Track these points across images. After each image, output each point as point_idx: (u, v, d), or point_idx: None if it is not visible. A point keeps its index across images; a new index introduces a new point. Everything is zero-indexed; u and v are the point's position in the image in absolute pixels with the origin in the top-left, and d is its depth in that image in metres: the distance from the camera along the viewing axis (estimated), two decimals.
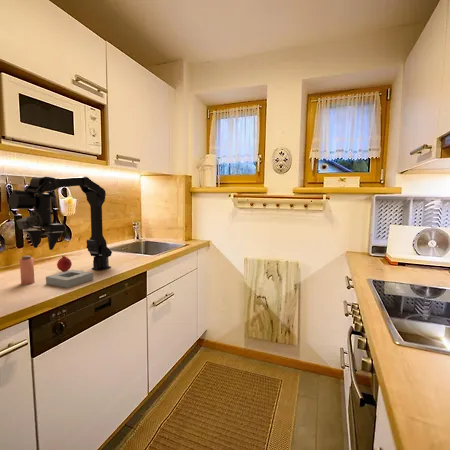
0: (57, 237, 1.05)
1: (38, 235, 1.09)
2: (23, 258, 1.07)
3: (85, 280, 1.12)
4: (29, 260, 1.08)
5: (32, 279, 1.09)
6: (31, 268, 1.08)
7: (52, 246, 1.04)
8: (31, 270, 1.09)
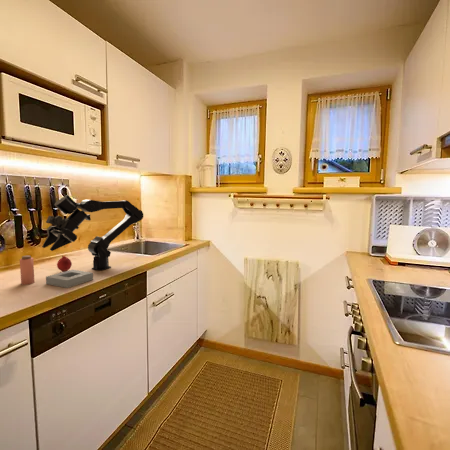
0: (63, 243, 1.13)
1: (53, 240, 1.20)
2: (23, 258, 1.07)
3: (85, 280, 1.12)
4: (29, 260, 1.08)
5: (32, 279, 1.09)
6: (31, 268, 1.08)
7: (54, 248, 1.11)
8: (31, 270, 1.09)
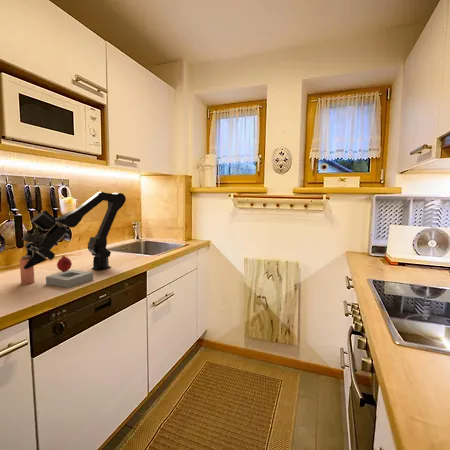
0: (38, 261, 1.09)
1: None
2: (23, 258, 1.07)
3: (85, 280, 1.12)
4: None
5: (32, 279, 1.09)
6: (31, 268, 1.08)
7: (28, 266, 1.07)
8: (31, 270, 1.09)
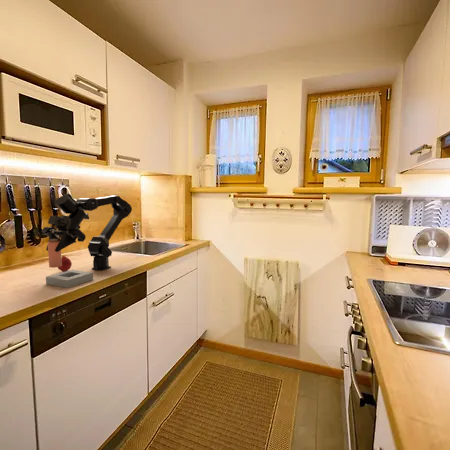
0: (68, 244, 1.10)
1: None
2: (52, 241, 1.07)
3: (85, 280, 1.12)
4: (58, 243, 1.08)
5: (61, 261, 1.10)
6: (60, 251, 1.09)
7: (59, 248, 1.07)
8: (60, 252, 1.09)
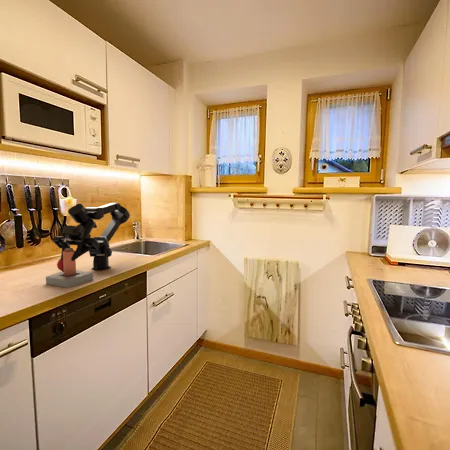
0: (82, 252, 1.13)
1: None
2: (68, 250, 1.09)
3: (85, 280, 1.12)
4: (74, 252, 1.11)
5: (75, 270, 1.12)
6: (75, 260, 1.12)
7: (75, 257, 1.10)
8: (75, 261, 1.12)
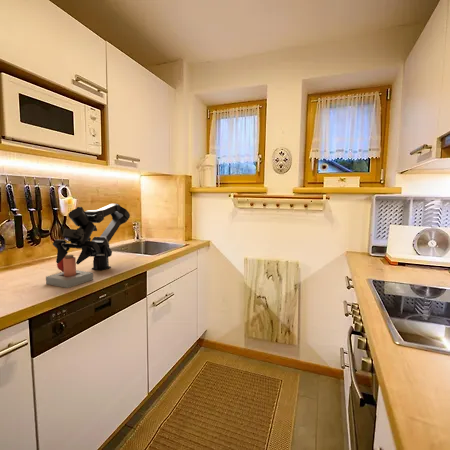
0: (87, 256, 1.13)
1: (64, 254, 1.14)
2: (68, 257, 1.09)
3: (85, 280, 1.12)
4: (74, 259, 1.11)
5: None
6: (75, 266, 1.12)
7: (79, 261, 1.10)
8: (75, 268, 1.12)
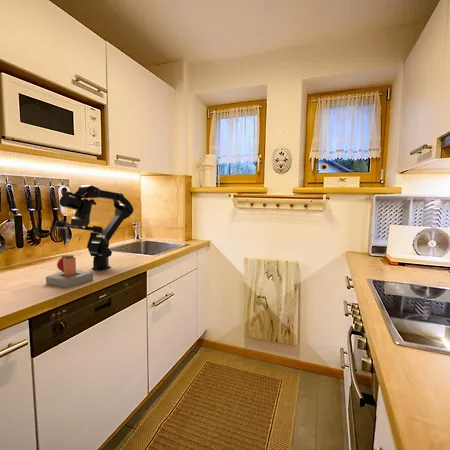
0: (94, 238, 1.23)
1: (67, 234, 1.20)
2: (69, 257, 1.09)
3: (85, 280, 1.12)
4: (74, 259, 1.11)
5: None
6: (75, 266, 1.12)
7: (89, 245, 1.21)
8: (75, 268, 1.12)
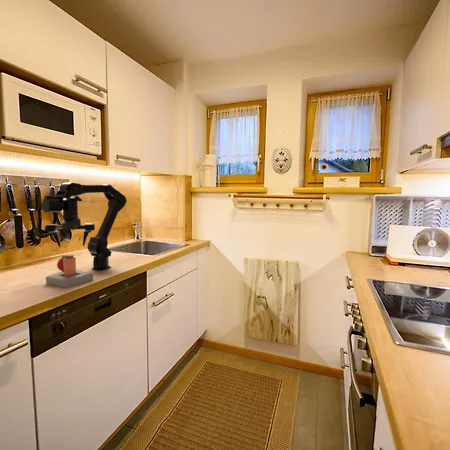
0: (87, 235, 1.23)
1: (59, 236, 1.18)
2: (69, 257, 1.09)
3: (85, 280, 1.12)
4: (74, 259, 1.11)
5: None
6: (75, 266, 1.12)
7: (84, 243, 1.22)
8: (75, 268, 1.12)
